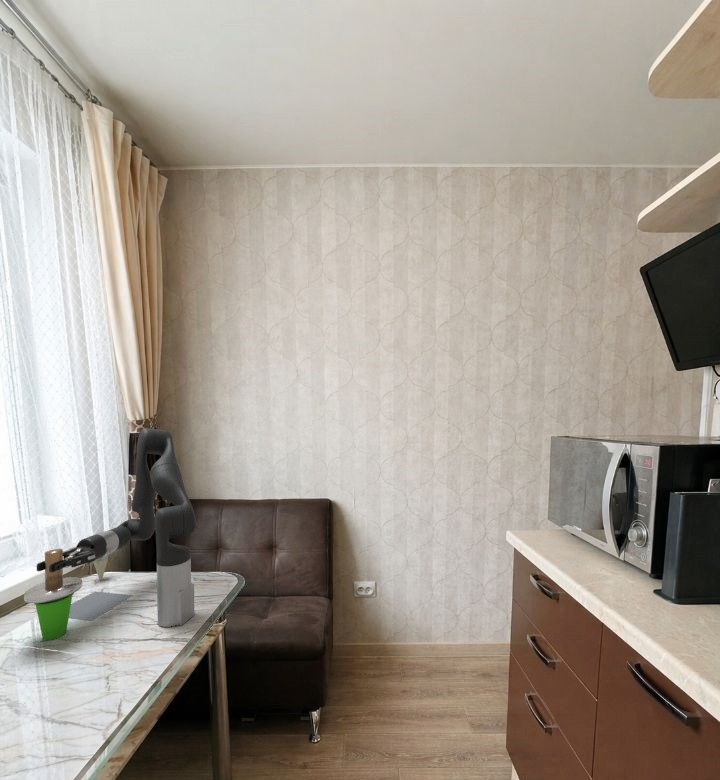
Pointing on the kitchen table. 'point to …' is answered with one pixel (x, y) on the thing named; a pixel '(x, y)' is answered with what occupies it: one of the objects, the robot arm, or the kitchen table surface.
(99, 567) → the ice cream cone
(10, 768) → the kitchen table surface
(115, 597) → the mat
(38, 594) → the lid
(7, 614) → the kitchen table surface
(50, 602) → the cup
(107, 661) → the kitchen table surface
